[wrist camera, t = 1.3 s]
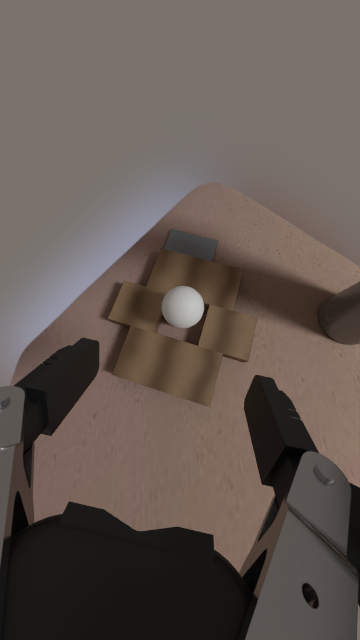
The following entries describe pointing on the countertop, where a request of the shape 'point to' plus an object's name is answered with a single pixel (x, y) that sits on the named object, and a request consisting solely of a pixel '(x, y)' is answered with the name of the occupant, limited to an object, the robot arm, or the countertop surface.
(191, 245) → the slate mat
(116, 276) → the countertop surface
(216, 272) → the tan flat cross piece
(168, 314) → the lightbulb
